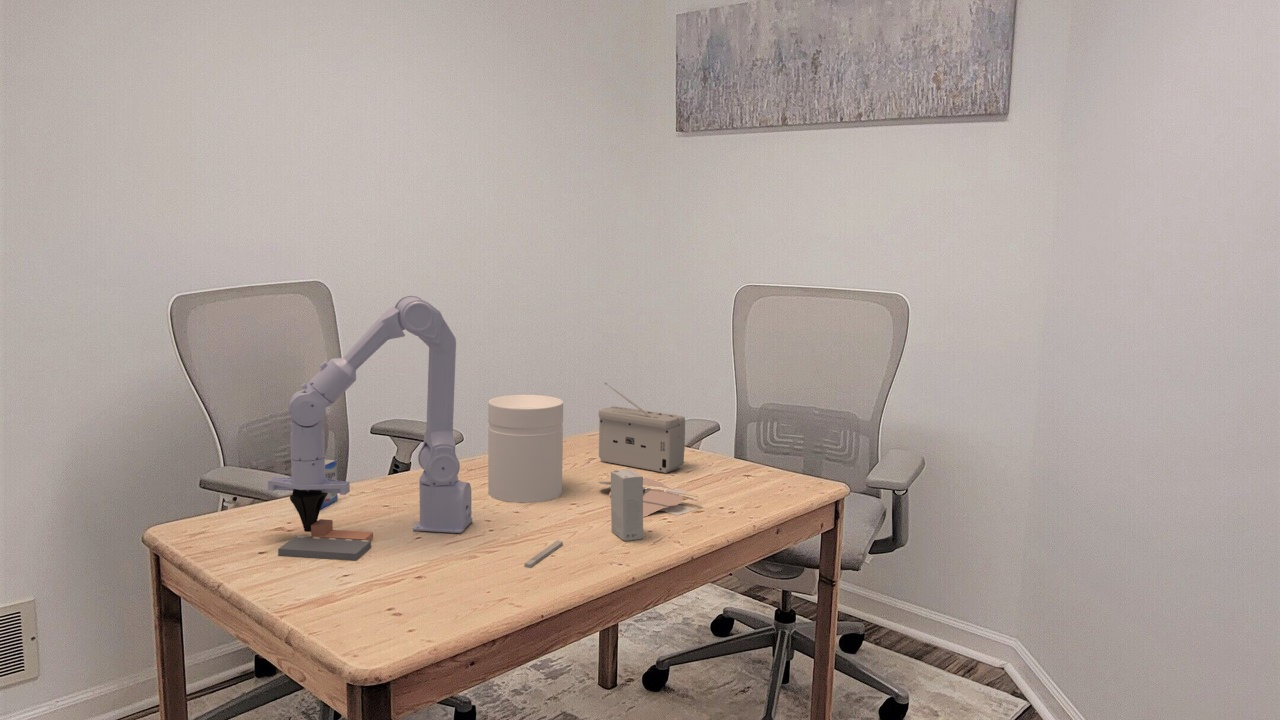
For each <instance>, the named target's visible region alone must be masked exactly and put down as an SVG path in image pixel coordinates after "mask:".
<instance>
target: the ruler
mask: <svg viewBox="0 0 1280 720" xmlns="http://www.w3.org/2000/svg"><path fill="white" fill-rule="evenodd" d="M563 544H564V542H563V541H561V540H556V541H555V542H553V543H552V544H550V545H549V546H547V547H545V548H544V549H543V550H542V551H540V552H538V553H537V554H536V555H534V556H533V557H532V558H530V559H528V560H527V561H526V562H524V566H523V567H524V568H529V569H530V568H533V567H534V566H535V565H537V564H538V563H540V562H541V561H542V560H543V559H545V558H547V557H548V556H549V555H551V554H552V553H553V552H555V551H556V550H558V549H559V548H560V547H562V546H563Z"/></svg>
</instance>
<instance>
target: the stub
mask: <svg viewBox="0 0 1280 720" xmlns="http://www.w3.org/2000/svg"><path fill="white" fill-rule="evenodd" d="M333 525H334V524H333V519H324V518H322V519H321V518H320V519H317V522H315V523H314V524H312V525H311V532H310V537H319V538H335V539H351V540H366V541H371V542H372V540H373V539H374V532H373V531H365V530H364V531H363V530H362V531H361V530H347V529H346V530H345V529H334V528H333V527H334V526H333Z"/></svg>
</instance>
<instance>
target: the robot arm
mask: <svg viewBox="0 0 1280 720" xmlns="http://www.w3.org/2000/svg"><path fill="white" fill-rule="evenodd" d="M404 330H405V331H407V332H408V333H410V334H412V335H414V336H416V337H418V338H419V340H421V341H422V342H423V343H424V344H425V345H426V346H427V347H428V372H427V377H428V378H427V399H426V400H427V402H426V404H427V405H426V429H425V432H424V436H423V444H422V447H421V448H420V450H419V452H418V456H417V460H418V465H419V466H420V467H421V469H422V470H423V472H422V473H421V475H420V477H419V481H418V482H419V521H418V522H417V523H416V524H415V525H413V527H412V531H420V532H421V531H422V532H435V533H436V532H437V533H452V534H461V533H463V531H464V530H465V529H466V528H467V527H468V526H469V525H470V524H471V523H472V521H473V517H472V487H471V483H470V482H467V481H462V480H459V476H458V475H459V473H460V470H461V469H460V466H461V465H460V460H459V459H458V457H457V454H456V442H455V441H456V440H455V437H454V408H455V407H454V406H455V405H454V404H455V382H456V356H457V351H456V350H457V341H456V340H457V339H456V336H455V335H454V332H452V330H451V329H450V327H449V325H448V324H447V322H446V320H445V318H444V317H443V315H442V313H441V311H440V310H438V309H437V308H436V307H434V306H433V305H432V303H430V302H428V301H427V300H425V299H424V300H423V299H422V298H421V297H419V296H416V295H406V296H403V297H401V298H400V299H398V301H397V302H396V304H395V306H391V307H389V309H387V310H386V311H384V313H383V314H382V315H380V317H379V318H378V319H377V320H376V321H375V322H374V323H373V324H372V325H371V326H370V328H368V329H367V331H365V333H364V334H363V335H362V336H361V338H359V339H358V340H357V342H356V343H354V345H353V346H352V347H350V349H349V350H348V351H347V352H346V354H345V355H343V357H337V358H335V357H334V358H331V359H330V360H329V361H328V362H327V361H325V360H324V361H323V362H322V363H321V364H320V365H319V368H320V370H319V371H318V372H317V373H315V374H314V376H313V377H312V378H311V379H310V380H309V381H308V382H305V381H304V382H303V383H302V384H301V385H300V388H301V389H302V390H298V391H296V392H295V393H294V394H293V395H292V396H291V397H290V399H289V403H288V405H287V409H288V411H289V413H290V414H289V416H290V417H291V419H290V420H291V421H290V434H289V438H290V441H289V443H290V462H291V463H290V464H291V465H290V467H291V470H290V473H291V477H288V476H287V477H274V476H273V477H272V478H270V479H268V480H267V490H268V491H269V492H270V491H271V492H272V491H273V492H274V491H291V492H292V494H291V495H290V496H289V500H290V502H291V503H292V505H293V506H294V508H295V509H296V512H297V513H298V515H299V518H300V520H301V524H302V527H303V531H304V532H307V533H311V525H312V524H314V523H315V522H317V521H318V520H319V514H320V512H321V510H322V509H321V506H322V504H323V502H324V500H325V498H326V496H327V494H328V493H337V494H339V495H341V496H346V495H347V494H349V493H350V492H351V491H350V487H351V486H350V481H345V480H338V479H337V480H334V479H329V478H325V459H326V458H325V457H326V454H325V453H326V451H325V450H326V449H325V432H324V430H323V420H324V418H325V416H326V408H328V407H330V406H332V405H333V404H334V403H335V402H337V401H338V399H340V398H341V396H342V395H343V394H345V392H346V391H347V390H348V389H349V388H350V387H351V386H352V385H353V384H354V383H355V382H356V380H357V370H358V369H360V367H361V366H362V365H363V364H364V363H365V362H366V361H367V360H369V358H370V357H372V355H374V354H375V353H376V352H377V351H378V350H379V349H380V348H381V347H382V346H383V345H384V344H386V343H387V342H388V341H389V340H393V339H399V338H403V337H406V333H404ZM320 509H321V510H320Z"/></svg>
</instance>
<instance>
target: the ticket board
mask: <svg viewBox="0 0 1280 720" xmlns="http://www.w3.org/2000/svg"><path fill="white" fill-rule="evenodd" d="M371 548H372V540H371V541H366V540H351V539H335V538H319V537H311V536H300V535H295V536H294V537H292V538H291V539H290V540H288V541H286V542H285V543H284V544H283V545H281V546H280V547H279V548H278V549H277V553H278V554H277V556H279V557H280V556H281V557H282V556H283V557H295V558H296V557H298V558H313V559H329V560H343V561H344V560H345V561H358V560H359V559H360V558H361V557H362V556H364V555H365V554H366V552H367V551H369V550H370V549H371Z"/></svg>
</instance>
